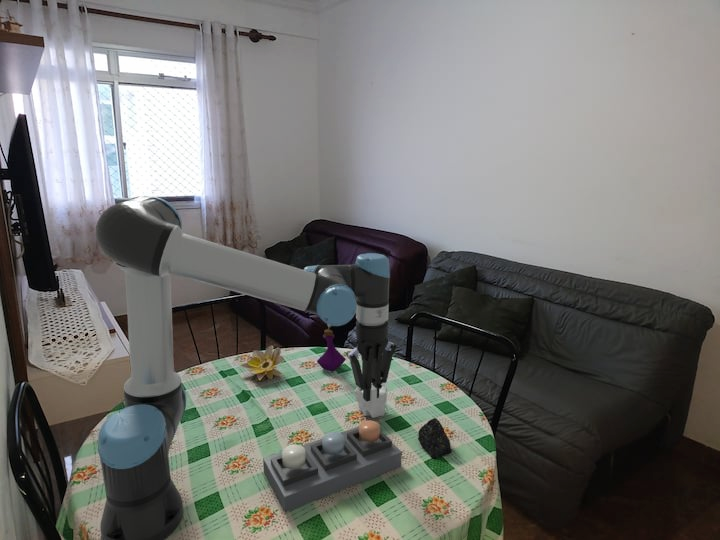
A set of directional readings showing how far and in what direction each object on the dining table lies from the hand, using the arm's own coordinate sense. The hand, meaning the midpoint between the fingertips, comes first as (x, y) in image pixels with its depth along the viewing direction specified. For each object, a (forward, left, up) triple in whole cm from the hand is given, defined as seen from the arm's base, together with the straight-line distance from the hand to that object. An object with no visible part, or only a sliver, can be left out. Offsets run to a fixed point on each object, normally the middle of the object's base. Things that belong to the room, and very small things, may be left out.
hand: (370, 410), depth 109 cm
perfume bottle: (+13, +47, -13) cm, 50 cm away
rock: (+17, -5, -13) cm, 22 cm away
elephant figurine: (+11, +16, -13) cm, 23 cm away
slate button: (-10, 0, -7) cm, 12 cm away
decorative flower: (-10, +55, -13) cm, 58 cm away
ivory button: (-20, 0, -7) cm, 21 cm away
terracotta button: (0, 0, -7) cm, 7 cm away
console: (-10, 0, -13) cm, 16 cm away
